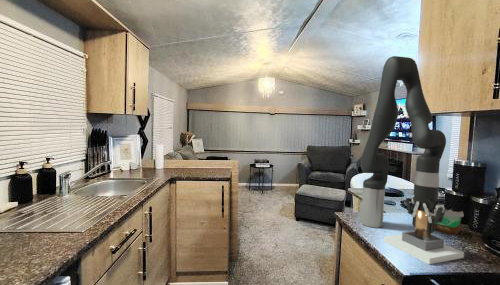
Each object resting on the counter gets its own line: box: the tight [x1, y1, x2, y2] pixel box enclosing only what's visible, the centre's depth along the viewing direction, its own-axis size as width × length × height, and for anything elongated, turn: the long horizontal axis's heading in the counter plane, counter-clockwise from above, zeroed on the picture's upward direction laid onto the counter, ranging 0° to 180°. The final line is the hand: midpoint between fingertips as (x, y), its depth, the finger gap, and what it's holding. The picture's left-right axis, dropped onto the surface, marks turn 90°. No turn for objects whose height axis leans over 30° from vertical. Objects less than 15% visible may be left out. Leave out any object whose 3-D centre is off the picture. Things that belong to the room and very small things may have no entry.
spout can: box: [414, 210, 432, 238], centre depth 97 cm, size 5×5×11 cm
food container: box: [435, 208, 465, 235], centre depth 116 cm, size 12×6×10 cm, turn 56°
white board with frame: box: [383, 230, 465, 265], centre depth 97 cm, size 18×17×5 cm
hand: (423, 229), depth 97 cm, fingers closed on spout can, 5 cm apart
